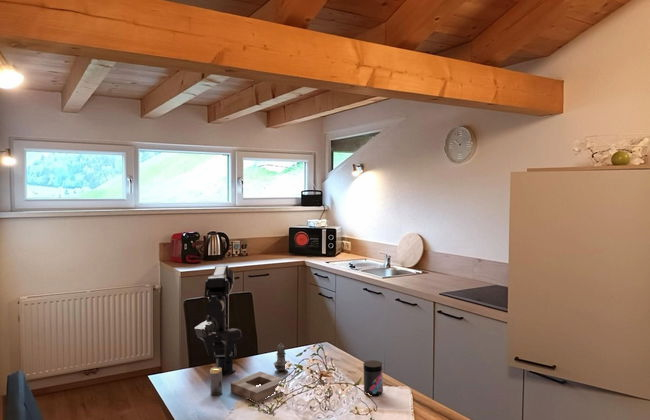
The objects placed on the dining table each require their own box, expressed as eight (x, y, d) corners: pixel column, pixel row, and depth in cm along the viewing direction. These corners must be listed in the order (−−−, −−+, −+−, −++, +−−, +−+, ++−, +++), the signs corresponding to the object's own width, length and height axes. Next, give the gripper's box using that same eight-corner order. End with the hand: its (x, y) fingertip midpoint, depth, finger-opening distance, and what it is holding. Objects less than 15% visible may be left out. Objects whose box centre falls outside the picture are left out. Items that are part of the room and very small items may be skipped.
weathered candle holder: (286, 375, 186) (285, 344, 186) (272, 374, 187) (271, 344, 187) (290, 369, 192) (289, 340, 191) (276, 369, 193) (275, 339, 192)
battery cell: (208, 394, 169) (207, 369, 169) (217, 390, 172) (217, 366, 172) (215, 397, 166) (214, 371, 166) (224, 393, 170) (223, 368, 169)
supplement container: (365, 397, 164) (364, 367, 164) (362, 389, 171) (361, 360, 171) (384, 396, 165) (384, 366, 164) (380, 388, 171) (380, 360, 171)
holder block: (230, 392, 170) (230, 382, 170) (260, 380, 181) (260, 371, 181) (257, 403, 161) (256, 392, 161) (286, 389, 172) (286, 380, 172)
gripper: (181, 313, 169) (182, 358, 168) (217, 317, 158) (217, 365, 157) (207, 309, 178) (207, 351, 177) (242, 312, 166) (242, 358, 166)
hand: (218, 356), depth 169 cm, fingers open, 9 cm apart
